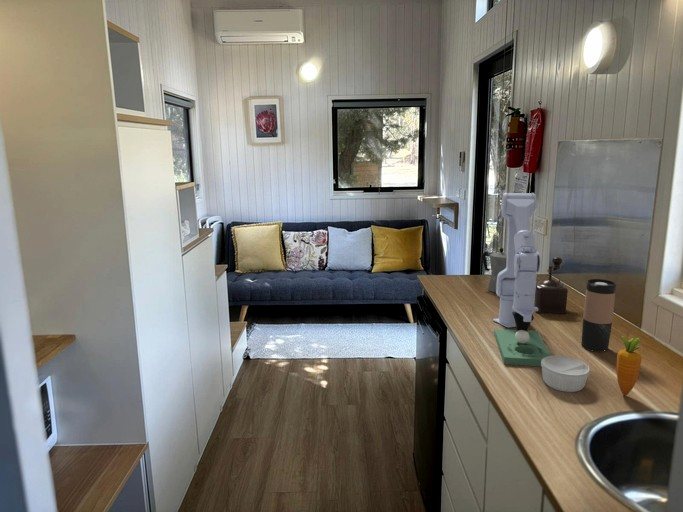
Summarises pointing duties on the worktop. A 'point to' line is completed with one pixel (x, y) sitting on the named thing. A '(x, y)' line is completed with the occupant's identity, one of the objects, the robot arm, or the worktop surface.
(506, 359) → the putting mat
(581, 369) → the ramekin
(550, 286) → the manual coffee grinder
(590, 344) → the travel mug
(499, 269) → the coffeepot
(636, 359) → the carrot
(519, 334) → the ball
